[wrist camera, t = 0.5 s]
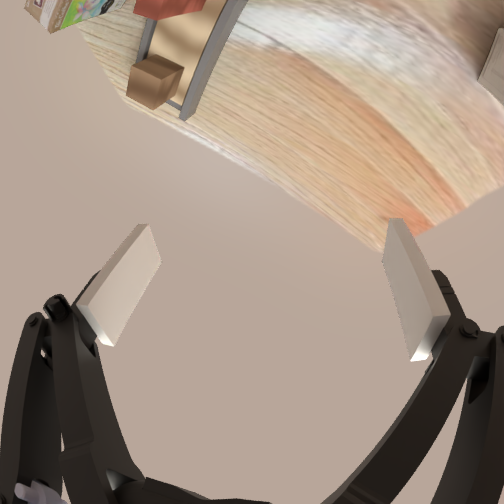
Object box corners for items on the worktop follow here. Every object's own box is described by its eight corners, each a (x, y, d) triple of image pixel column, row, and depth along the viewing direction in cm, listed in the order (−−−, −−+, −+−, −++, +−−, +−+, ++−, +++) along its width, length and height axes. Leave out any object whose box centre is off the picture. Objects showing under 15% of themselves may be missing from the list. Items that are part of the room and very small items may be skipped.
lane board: (181, -38, 20) (167, -38, 19) (255, -13, 22) (245, -14, 20) (141, 84, 40) (129, 91, 38) (194, 113, 42) (184, 121, 40)
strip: (184, -36, 20) (130, -34, 14) (240, -19, 21) (194, -19, 16) (144, 81, 38) (101, 108, 32) (185, 103, 39) (145, 133, 34)
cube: (156, 54, 32) (131, 65, 29) (184, 67, 33) (161, 79, 30) (148, 81, 36) (125, 95, 33) (175, 95, 37) (153, 110, 34)
